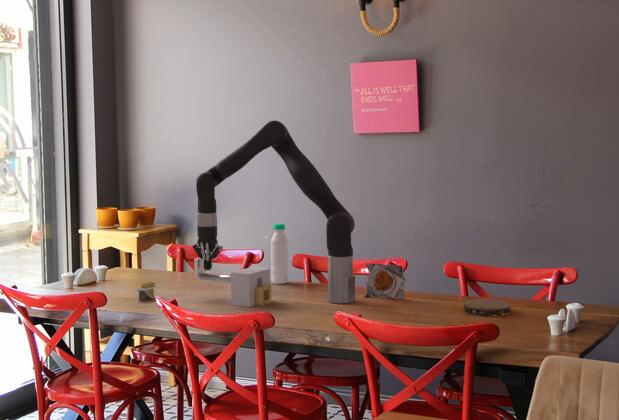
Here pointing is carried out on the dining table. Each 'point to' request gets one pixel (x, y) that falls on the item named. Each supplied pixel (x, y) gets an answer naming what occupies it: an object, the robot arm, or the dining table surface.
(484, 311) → the dark brown disc
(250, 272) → the block
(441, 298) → the dining table surface
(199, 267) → the shaft
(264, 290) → the spacer
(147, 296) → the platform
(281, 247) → the water bottle
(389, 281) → the meal
